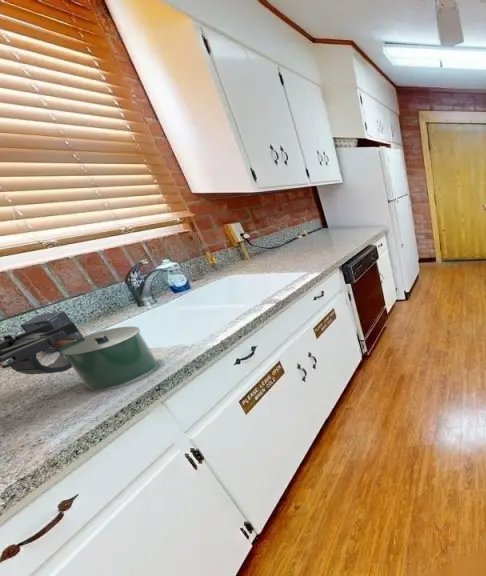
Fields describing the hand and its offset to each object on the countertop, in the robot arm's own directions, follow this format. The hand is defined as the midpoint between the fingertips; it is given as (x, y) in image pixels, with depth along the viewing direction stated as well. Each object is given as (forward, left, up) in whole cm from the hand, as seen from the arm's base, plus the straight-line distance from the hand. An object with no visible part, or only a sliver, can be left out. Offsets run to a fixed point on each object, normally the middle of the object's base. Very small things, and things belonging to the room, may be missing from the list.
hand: (62, 327), depth 83 cm
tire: (+4, -4, -10) cm, 12 cm away
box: (-25, -6, -14) cm, 30 cm away
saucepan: (+9, +1, -14) cm, 17 cm away
